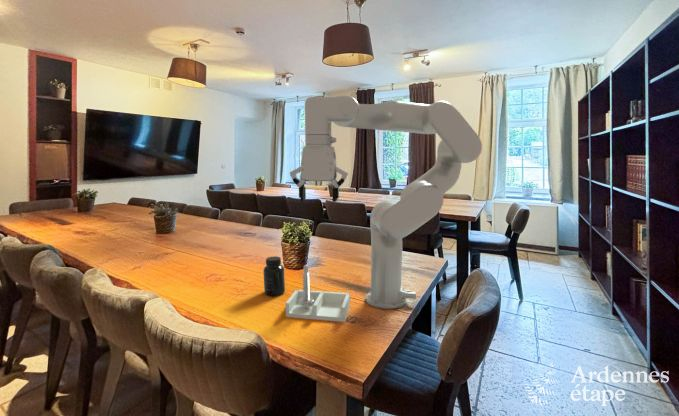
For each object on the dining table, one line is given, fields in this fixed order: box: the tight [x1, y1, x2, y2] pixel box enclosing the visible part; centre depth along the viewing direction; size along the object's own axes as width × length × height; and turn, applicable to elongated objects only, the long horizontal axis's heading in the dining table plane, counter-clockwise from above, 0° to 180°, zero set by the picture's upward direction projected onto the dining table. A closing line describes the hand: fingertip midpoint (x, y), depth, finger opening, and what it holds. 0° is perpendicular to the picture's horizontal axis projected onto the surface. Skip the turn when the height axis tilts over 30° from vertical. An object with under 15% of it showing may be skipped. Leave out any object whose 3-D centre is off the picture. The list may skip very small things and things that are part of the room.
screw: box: [298, 264, 314, 309], centre depth 98 cm, size 13×5×5 cm
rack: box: [285, 289, 351, 323], centre depth 98 cm, size 17×10×4 cm, turn 80°
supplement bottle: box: [263, 256, 286, 297], centre depth 111 cm, size 7×7×12 cm
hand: (318, 200), depth 99 cm, fingers open, 9 cm apart
